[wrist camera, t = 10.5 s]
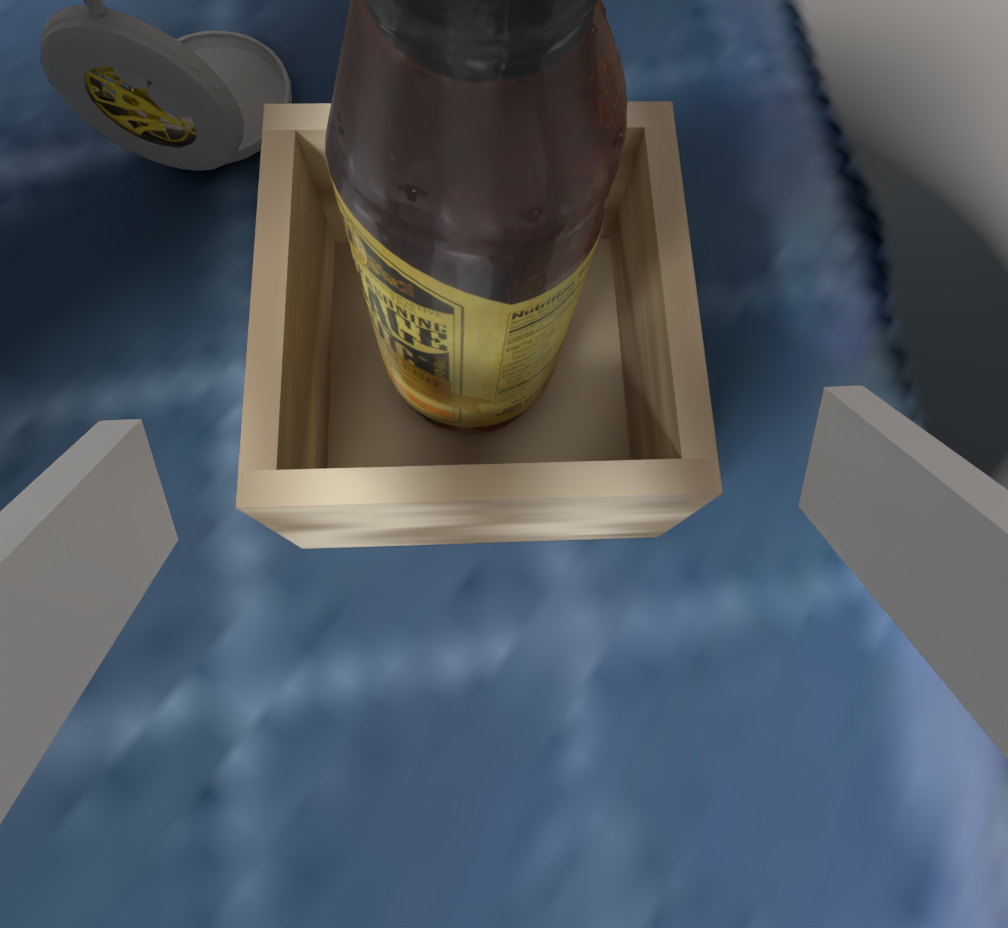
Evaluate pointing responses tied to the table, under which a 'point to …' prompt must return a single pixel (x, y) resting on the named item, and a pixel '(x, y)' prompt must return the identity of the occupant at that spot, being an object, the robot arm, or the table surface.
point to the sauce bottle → (474, 188)
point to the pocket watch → (164, 85)
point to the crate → (488, 454)
